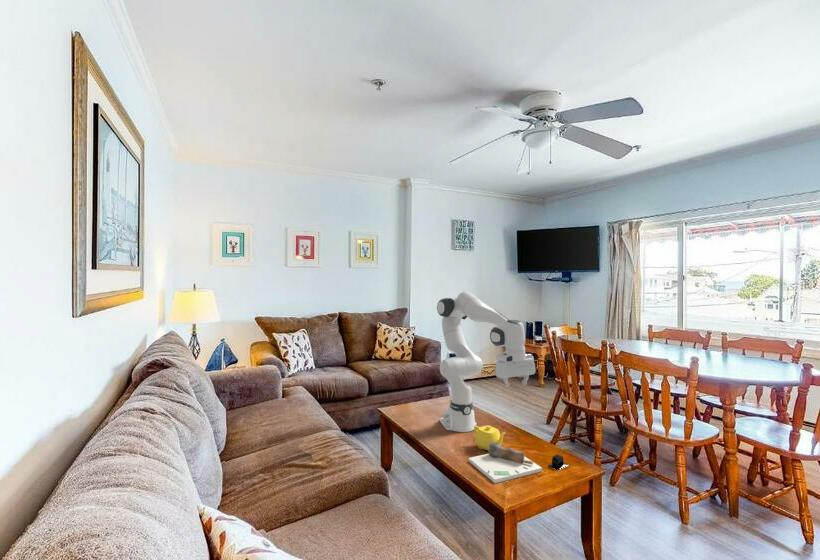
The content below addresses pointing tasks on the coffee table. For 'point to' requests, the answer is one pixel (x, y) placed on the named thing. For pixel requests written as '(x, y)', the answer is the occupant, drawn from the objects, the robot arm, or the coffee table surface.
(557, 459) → the black flanged block
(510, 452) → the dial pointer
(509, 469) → the dial plate
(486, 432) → the teapot
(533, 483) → the coffee table surface
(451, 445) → the coffee table surface
